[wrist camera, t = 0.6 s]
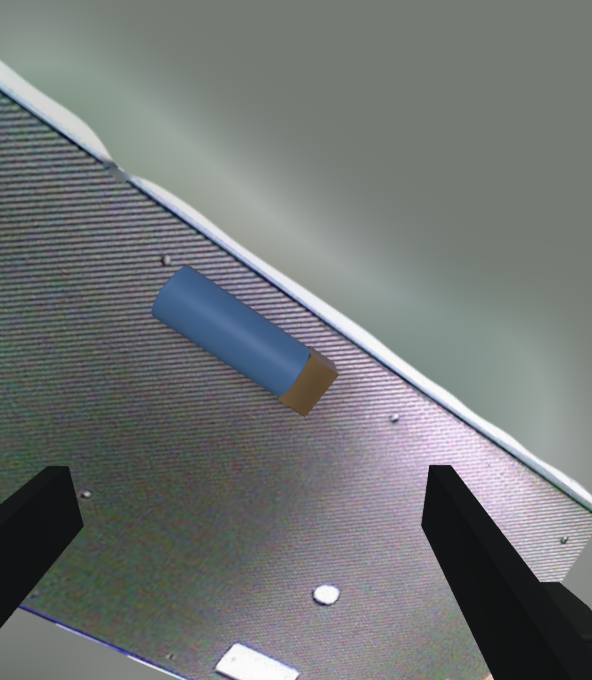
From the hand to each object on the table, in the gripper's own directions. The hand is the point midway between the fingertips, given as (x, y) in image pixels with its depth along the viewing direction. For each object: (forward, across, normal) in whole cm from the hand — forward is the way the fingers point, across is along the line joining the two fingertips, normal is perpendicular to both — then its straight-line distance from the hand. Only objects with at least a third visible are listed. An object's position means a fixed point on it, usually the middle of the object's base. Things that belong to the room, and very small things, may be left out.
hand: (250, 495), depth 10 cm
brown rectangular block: (+17, +3, -2) cm, 17 cm away
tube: (+17, -4, +2) cm, 17 cm away
